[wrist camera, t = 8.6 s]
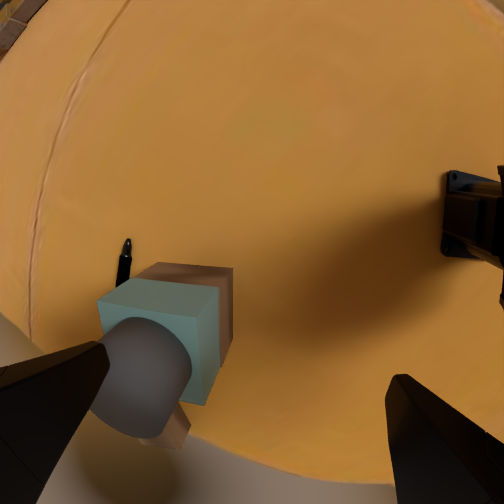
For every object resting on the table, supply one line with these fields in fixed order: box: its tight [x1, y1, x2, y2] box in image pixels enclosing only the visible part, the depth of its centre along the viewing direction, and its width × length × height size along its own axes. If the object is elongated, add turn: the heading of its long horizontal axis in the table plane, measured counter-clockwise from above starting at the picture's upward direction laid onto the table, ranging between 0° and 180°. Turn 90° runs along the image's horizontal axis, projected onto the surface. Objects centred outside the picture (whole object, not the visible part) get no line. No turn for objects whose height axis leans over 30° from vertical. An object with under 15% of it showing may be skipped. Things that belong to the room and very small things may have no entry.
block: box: [137, 403, 191, 450], centre depth 23 cm, size 5×5×4 cm
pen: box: [116, 239, 132, 288], centre depth 22 cm, size 14×2×1 cm, turn 162°
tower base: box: [134, 262, 233, 367], centre depth 19 cm, size 6×6×4 cm
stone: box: [89, 317, 192, 439], centre depth 12 cm, size 5×5×4 cm
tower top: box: [97, 278, 220, 406], centre depth 15 cm, size 6×6×4 cm
